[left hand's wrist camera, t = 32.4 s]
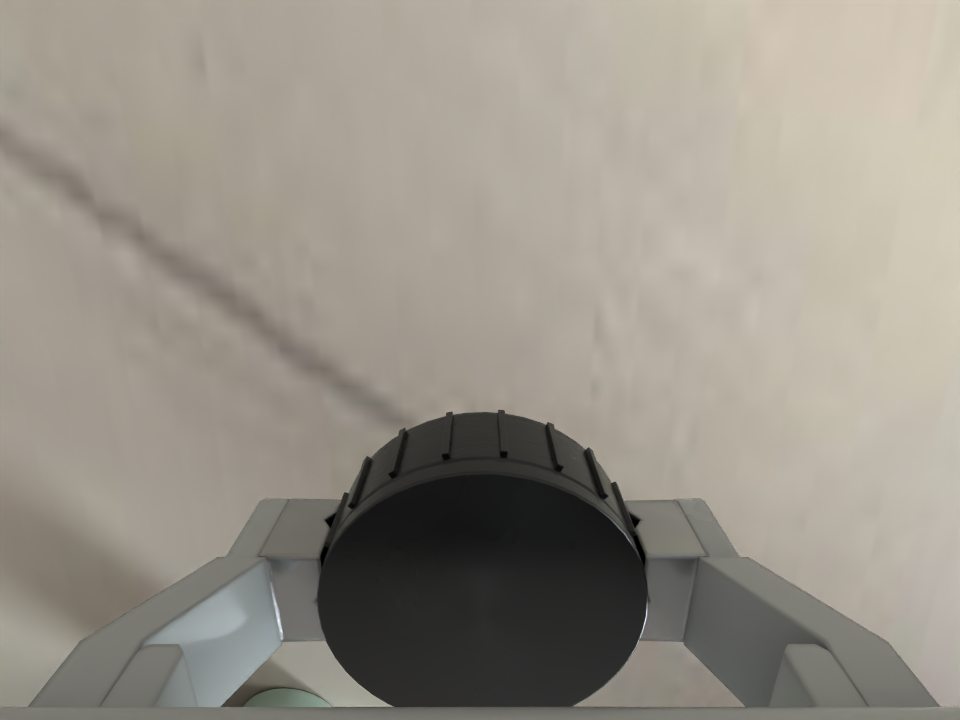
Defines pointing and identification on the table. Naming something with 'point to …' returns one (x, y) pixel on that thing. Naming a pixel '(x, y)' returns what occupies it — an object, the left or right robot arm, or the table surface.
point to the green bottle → (286, 699)
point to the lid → (482, 568)
